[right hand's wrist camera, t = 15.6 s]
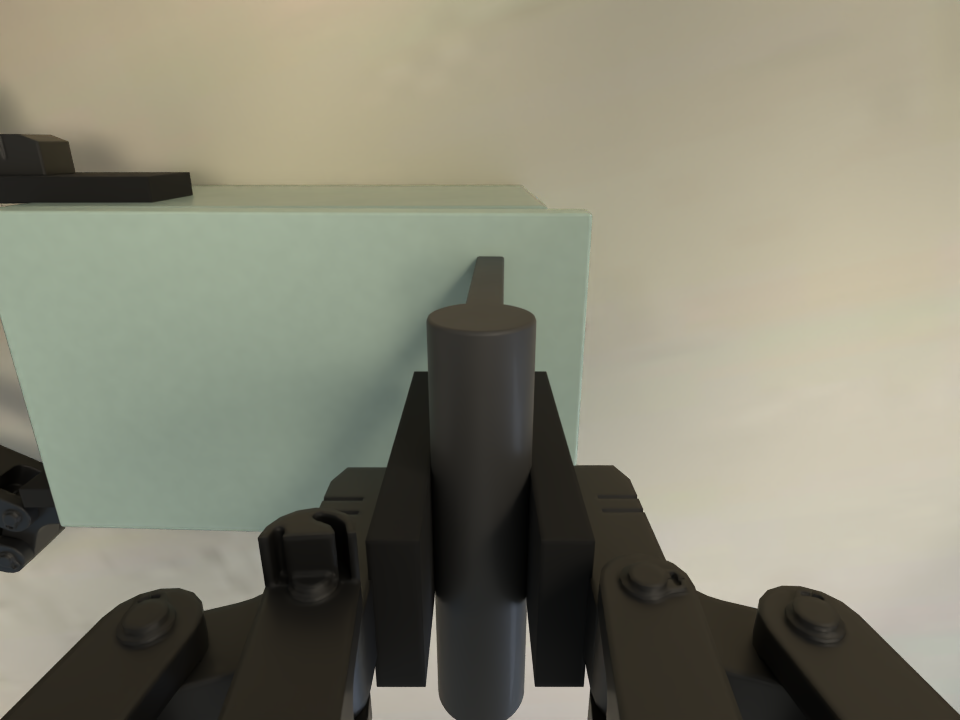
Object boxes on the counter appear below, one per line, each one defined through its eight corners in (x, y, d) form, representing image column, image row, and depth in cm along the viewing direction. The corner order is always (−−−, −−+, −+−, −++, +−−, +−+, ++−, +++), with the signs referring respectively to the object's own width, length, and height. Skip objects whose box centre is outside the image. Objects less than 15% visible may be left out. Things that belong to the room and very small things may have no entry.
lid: (587, 209, 16) (664, 268, 8) (568, 519, 19) (609, 768, 11) (-1, 206, 16) (-439, 260, 9) (82, 508, 20) (-184, 736, 12)
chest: (522, 185, 25) (548, 205, 16) (517, 398, 28) (536, 504, 20) (159, 185, 25) (0, 206, 16) (198, 399, 28) (82, 507, 20)
